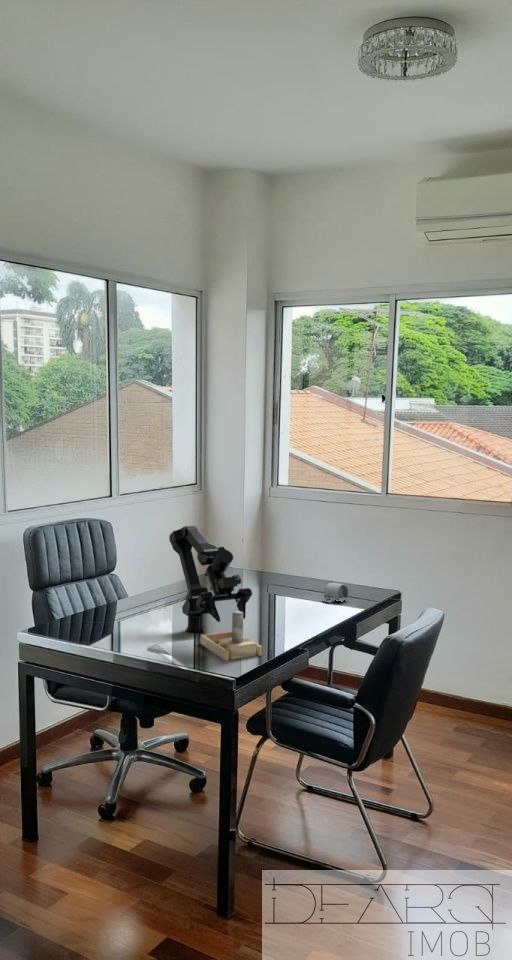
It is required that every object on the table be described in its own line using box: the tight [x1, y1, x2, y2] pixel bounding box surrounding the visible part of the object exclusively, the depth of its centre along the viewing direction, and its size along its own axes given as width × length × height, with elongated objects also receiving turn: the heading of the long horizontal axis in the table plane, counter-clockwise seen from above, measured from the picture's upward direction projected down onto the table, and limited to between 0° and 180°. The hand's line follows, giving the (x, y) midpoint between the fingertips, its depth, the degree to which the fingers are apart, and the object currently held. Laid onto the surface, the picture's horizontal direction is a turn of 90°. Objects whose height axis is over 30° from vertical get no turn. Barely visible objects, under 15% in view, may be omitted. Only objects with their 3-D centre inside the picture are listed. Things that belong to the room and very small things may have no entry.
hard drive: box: [147, 641, 172, 657], centre depth 259 cm, size 2×8×12 cm
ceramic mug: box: [322, 582, 349, 602], centre depth 329 cm, size 11×8×8 cm
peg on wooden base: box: [218, 610, 257, 660], centre depth 253 cm, size 9×9×14 cm
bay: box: [199, 630, 263, 661], centre depth 258 cm, size 20×14×4 cm
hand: (232, 619), depth 256 cm, fingers open, 9 cm apart
